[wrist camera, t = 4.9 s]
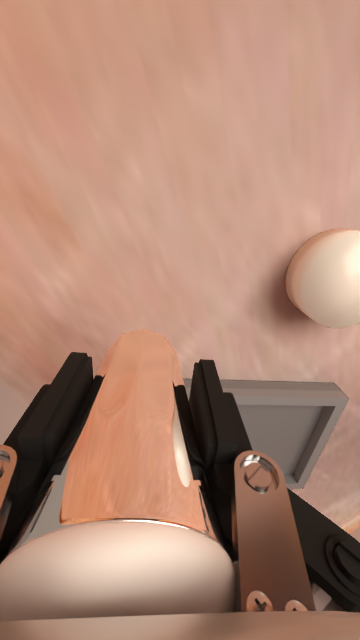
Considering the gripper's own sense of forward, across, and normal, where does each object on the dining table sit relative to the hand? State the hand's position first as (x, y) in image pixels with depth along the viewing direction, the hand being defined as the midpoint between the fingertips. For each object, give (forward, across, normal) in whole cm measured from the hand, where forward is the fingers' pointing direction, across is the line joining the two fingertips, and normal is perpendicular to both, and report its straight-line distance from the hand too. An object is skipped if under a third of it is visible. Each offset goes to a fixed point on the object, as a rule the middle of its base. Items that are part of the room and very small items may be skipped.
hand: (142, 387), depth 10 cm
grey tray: (+11, -10, +15) cm, 21 cm away
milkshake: (+2, 0, 0) cm, 2 cm away
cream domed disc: (+11, -14, -3) cm, 18 cm away
